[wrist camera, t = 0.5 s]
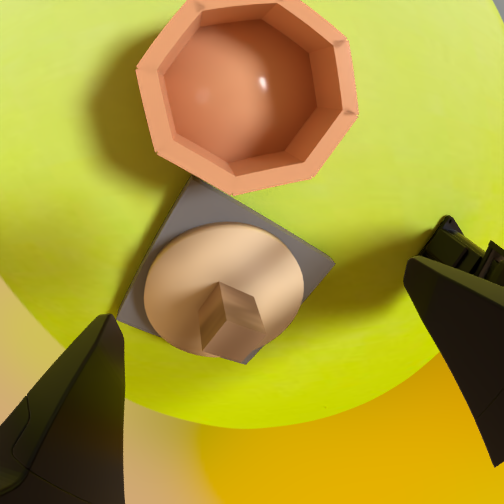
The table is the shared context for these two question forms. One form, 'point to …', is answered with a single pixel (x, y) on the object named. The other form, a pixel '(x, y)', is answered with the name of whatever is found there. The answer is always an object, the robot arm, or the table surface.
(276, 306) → the lid
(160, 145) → the ring
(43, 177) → the table surface
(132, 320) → the mat
